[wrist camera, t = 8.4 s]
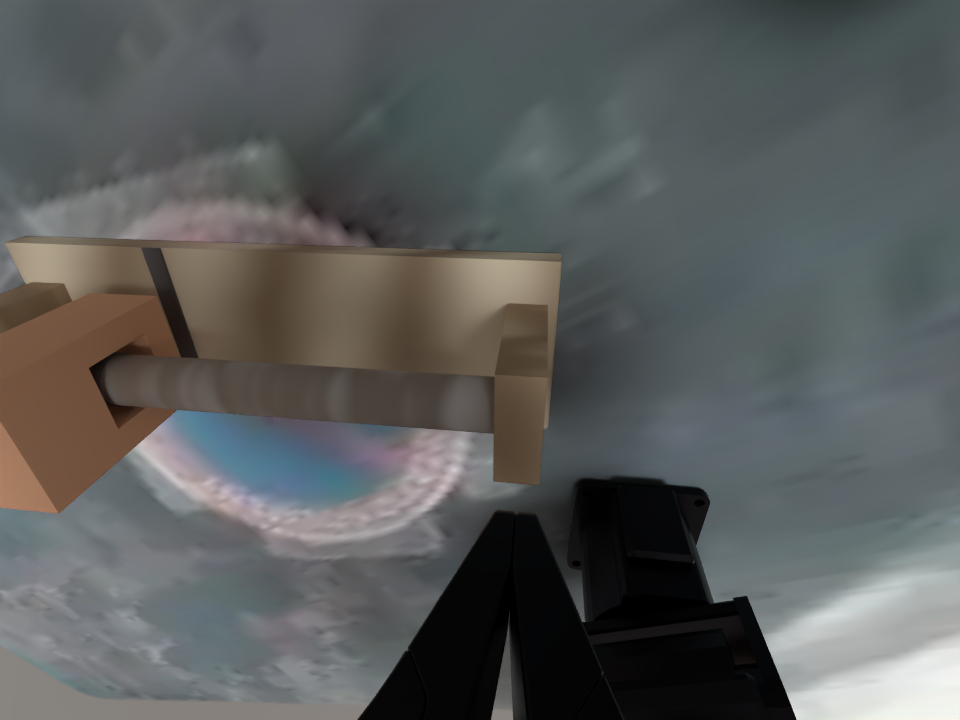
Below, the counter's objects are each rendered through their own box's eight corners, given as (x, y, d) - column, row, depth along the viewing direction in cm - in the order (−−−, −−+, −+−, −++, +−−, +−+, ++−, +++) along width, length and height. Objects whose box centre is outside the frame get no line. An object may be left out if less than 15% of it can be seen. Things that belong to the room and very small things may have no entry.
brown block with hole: (156, 295, 19) (-20, 390, 13) (193, 395, 22) (58, 513, 16) (90, 292, 20) (-110, 384, 14) (134, 391, 22) (-21, 505, 16)
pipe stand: (561, 253, 19) (565, 324, 13) (547, 415, 23) (547, 522, 17) (25, 236, 22) (-156, 288, 16) (97, 384, 26) (-28, 467, 20)
